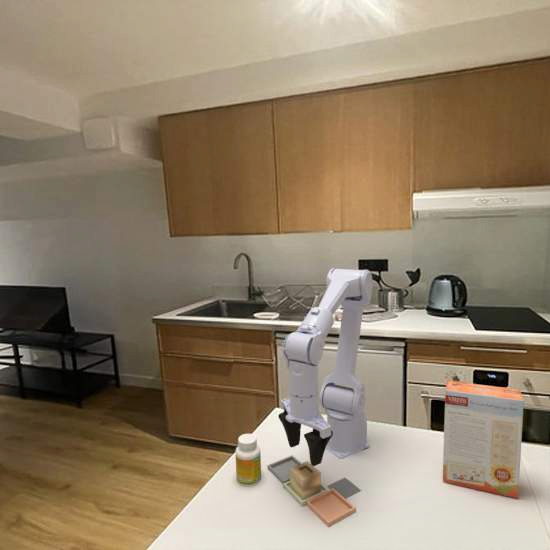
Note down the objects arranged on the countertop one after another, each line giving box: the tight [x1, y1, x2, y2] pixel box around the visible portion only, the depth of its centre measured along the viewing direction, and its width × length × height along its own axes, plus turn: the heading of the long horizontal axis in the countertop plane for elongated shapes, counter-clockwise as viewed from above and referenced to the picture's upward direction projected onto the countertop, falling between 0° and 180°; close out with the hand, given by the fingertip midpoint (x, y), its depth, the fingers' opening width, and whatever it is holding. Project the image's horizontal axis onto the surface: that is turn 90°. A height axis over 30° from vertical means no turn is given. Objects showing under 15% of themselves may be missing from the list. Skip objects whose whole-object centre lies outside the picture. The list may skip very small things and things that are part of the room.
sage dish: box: [282, 481, 330, 507], centre depth 83 cm, size 7×7×1 cm
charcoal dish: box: [266, 455, 303, 485], centre depth 89 cm, size 7×7×1 cm
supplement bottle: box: [235, 433, 262, 487], centre depth 87 cm, size 5×5×10 cm
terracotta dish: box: [305, 488, 357, 528], centre depth 78 cm, size 7×7×1 cm
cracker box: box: [442, 379, 525, 499], centre depth 83 cm, size 14×6×21 cm, turn 65°
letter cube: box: [290, 460, 322, 500], centre depth 83 cm, size 4×4×5 cm
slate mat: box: [326, 477, 362, 500], centre depth 83 cm, size 5×5×1 cm
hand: (304, 454), depth 82 cm, fingers open, 7 cm apart
